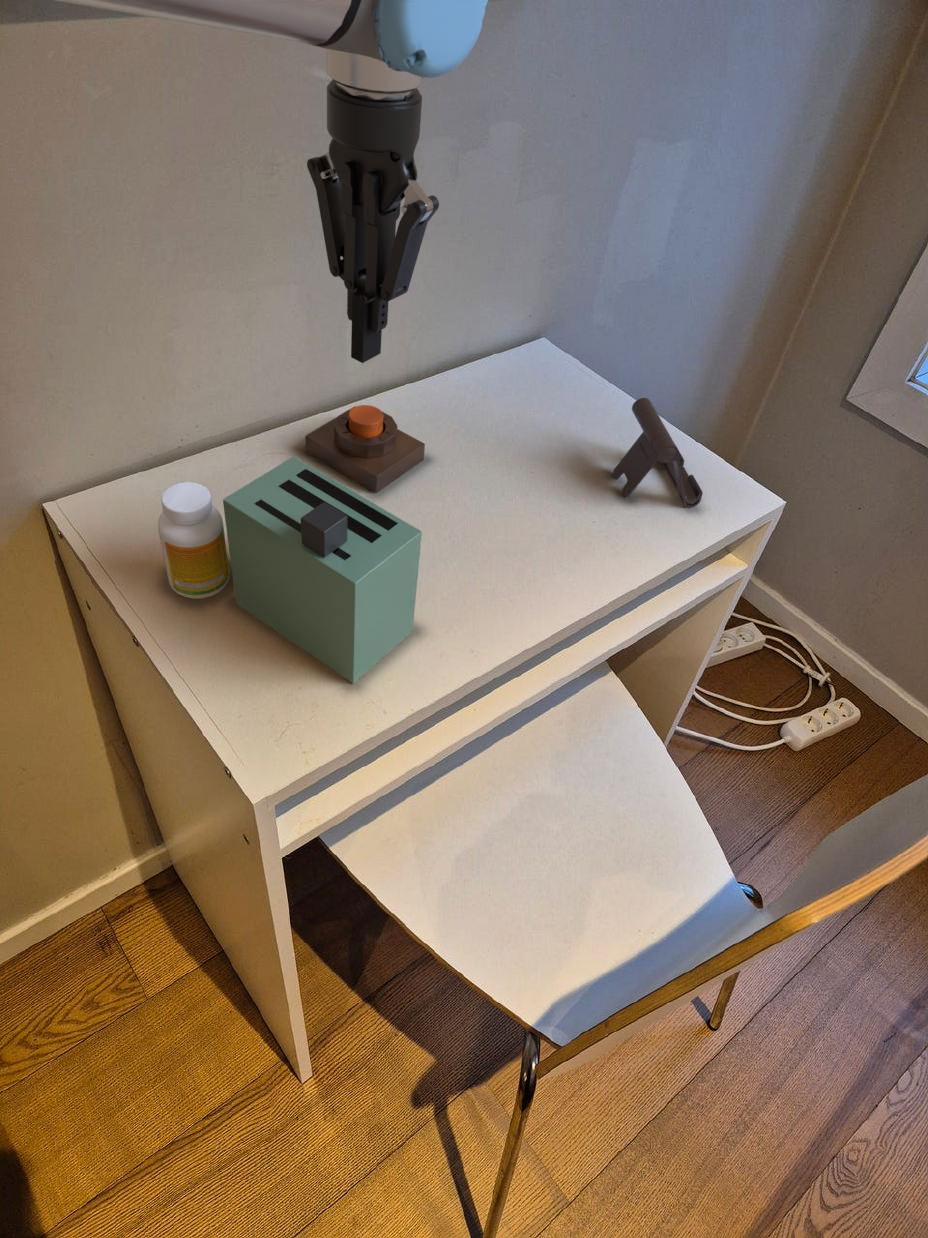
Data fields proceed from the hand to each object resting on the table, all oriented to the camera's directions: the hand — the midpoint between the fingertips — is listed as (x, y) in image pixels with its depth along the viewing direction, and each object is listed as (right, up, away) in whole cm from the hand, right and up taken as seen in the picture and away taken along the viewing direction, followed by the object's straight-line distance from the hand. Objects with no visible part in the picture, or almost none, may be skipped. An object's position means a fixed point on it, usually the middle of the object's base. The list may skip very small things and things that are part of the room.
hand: (365, 355), depth 85 cm
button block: (-1, -8, +9) cm, 12 cm away
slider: (-1, -20, -19) cm, 27 cm away
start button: (-1, -6, +7) cm, 9 cm away
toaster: (-3, -26, -8) cm, 27 cm away
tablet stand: (+31, -11, +11) cm, 34 cm away
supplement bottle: (-15, -22, -6) cm, 27 cm away
